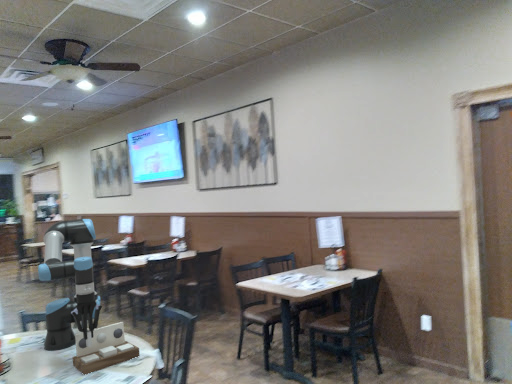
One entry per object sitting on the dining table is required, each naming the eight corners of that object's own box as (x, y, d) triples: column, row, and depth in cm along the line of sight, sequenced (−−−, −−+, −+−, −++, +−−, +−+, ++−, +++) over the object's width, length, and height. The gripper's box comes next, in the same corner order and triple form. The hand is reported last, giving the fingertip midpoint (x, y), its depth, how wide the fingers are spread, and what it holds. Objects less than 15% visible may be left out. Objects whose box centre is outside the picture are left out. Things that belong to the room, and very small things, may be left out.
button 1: (81, 364, 180) (80, 358, 180) (94, 359, 184) (94, 353, 184) (85, 367, 176) (85, 361, 176) (99, 363, 179) (99, 357, 179)
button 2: (116, 352, 191) (116, 347, 191) (129, 349, 194) (128, 343, 194) (121, 356, 186) (121, 350, 186) (134, 352, 190) (134, 346, 190)
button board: (72, 365, 184) (72, 356, 184) (126, 349, 201) (125, 340, 201) (84, 375, 173) (83, 365, 173) (139, 356, 189) (139, 347, 189)
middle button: (99, 355, 185) (98, 349, 185) (112, 351, 189) (111, 345, 189) (104, 359, 181) (103, 352, 181) (117, 354, 185) (117, 348, 185)
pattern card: (76, 356, 184) (75, 334, 184) (123, 342, 199) (122, 321, 199) (77, 357, 183) (76, 335, 183) (125, 343, 198) (123, 322, 198)
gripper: (72, 297, 173) (76, 352, 173) (103, 290, 181) (107, 343, 182) (67, 294, 179) (71, 348, 179) (97, 288, 187) (100, 339, 187)
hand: (89, 345), depth 180 cm, fingers closed
